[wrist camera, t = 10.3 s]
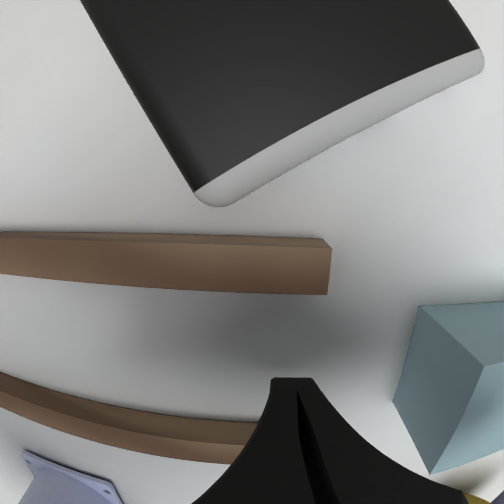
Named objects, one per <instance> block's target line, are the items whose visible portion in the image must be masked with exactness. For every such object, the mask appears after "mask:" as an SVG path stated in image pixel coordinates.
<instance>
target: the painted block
mask: <svg viewBox="0 0 504 504" xmlns="http://www.w3.org/2000/svg"><path fill="white" fill-rule="evenodd" d="M393 403H394V405H395V407H396V409H397V411H398V413H399V415H400V417H401V418H402V420H403V422H404V424H405V426H406V428H407V430H408V432H409V434H410V436H411V438H412V440H413V442H414V444H415V446H416V448H417V450H418V452H419V454H420V456H421V458H422V460H423V462H424V464H425V466H426V468H427V470H428V472H429V474H430V475H431V474H434V473H438V472H441V471H444V470H448V469H451V468H454V467H457V466H460V465H463V464H466V463H469V462H471V461H474V460H477V459H479V458H482V457H485V456H487V455H490V454H492V453H495V452H497V451H499V450H502V449H504V301H500V302H485V303H468V304H447V305H420V306H419V307H418V312H417V317H416V321H415V325H414V330H413V334H412V338H411V342H410V346H409V349H408V353H407V357H406V360H405V364H404V367H403V371H402V374H401V377H400V380H399V384H398V387H397V390H396V393H395V396H394V399H393Z"/></svg>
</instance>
